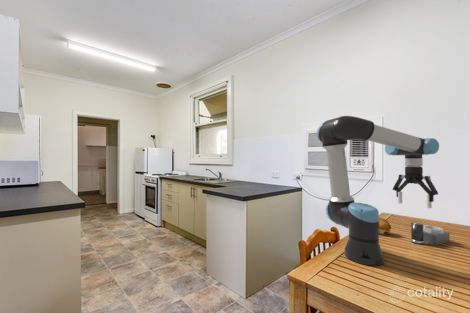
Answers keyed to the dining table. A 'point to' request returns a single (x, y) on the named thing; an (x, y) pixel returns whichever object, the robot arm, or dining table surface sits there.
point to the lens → (417, 233)
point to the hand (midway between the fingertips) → (413, 205)
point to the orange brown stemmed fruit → (384, 226)
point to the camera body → (435, 235)
